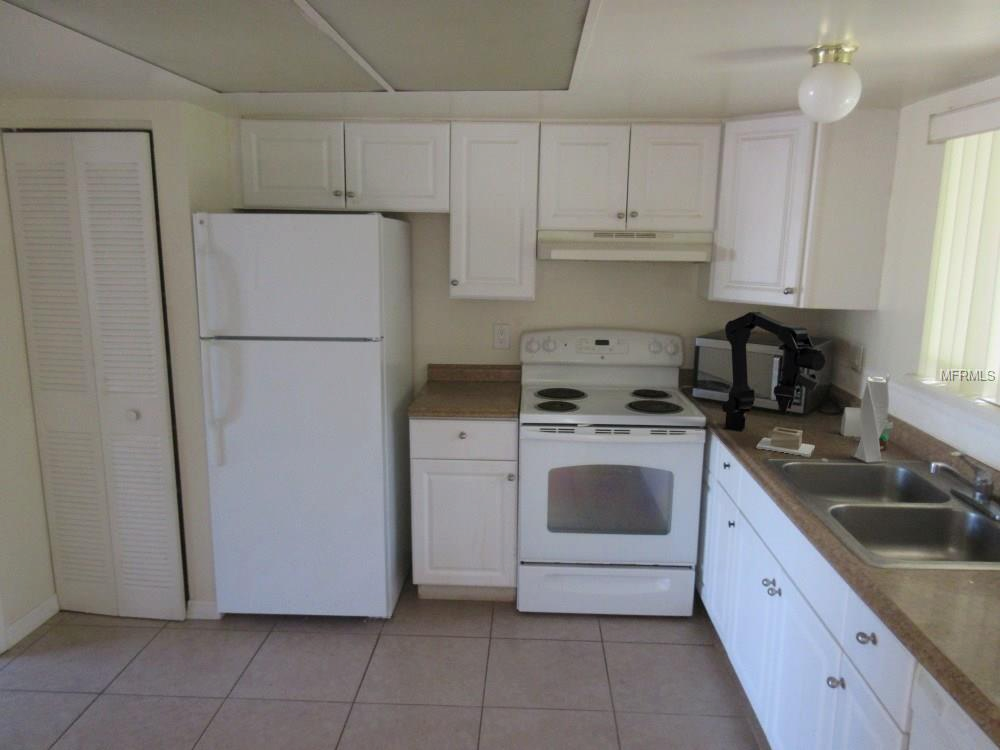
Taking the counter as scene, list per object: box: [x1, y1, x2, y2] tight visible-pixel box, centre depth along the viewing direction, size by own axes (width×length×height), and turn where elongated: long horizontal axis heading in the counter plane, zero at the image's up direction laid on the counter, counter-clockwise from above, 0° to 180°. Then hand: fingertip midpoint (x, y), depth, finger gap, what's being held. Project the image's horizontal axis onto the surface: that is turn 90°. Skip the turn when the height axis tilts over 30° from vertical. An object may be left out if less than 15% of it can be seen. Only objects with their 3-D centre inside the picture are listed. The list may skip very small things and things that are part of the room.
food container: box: [879, 417, 894, 452], centre depth 220 cm, size 12×6×10 cm, turn 168°
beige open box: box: [770, 426, 804, 450], centre depth 217 cm, size 6×8×5 cm
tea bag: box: [839, 406, 861, 438], centre depth 235 cm, size 4×7×10 cm, turn 80°
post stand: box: [756, 431, 816, 458], centre depth 217 cm, size 16×12×6 cm
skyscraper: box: [850, 373, 890, 464], centre depth 204 cm, size 8×8×28 cm
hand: (786, 411), depth 220 cm, fingers open, 9 cm apart
